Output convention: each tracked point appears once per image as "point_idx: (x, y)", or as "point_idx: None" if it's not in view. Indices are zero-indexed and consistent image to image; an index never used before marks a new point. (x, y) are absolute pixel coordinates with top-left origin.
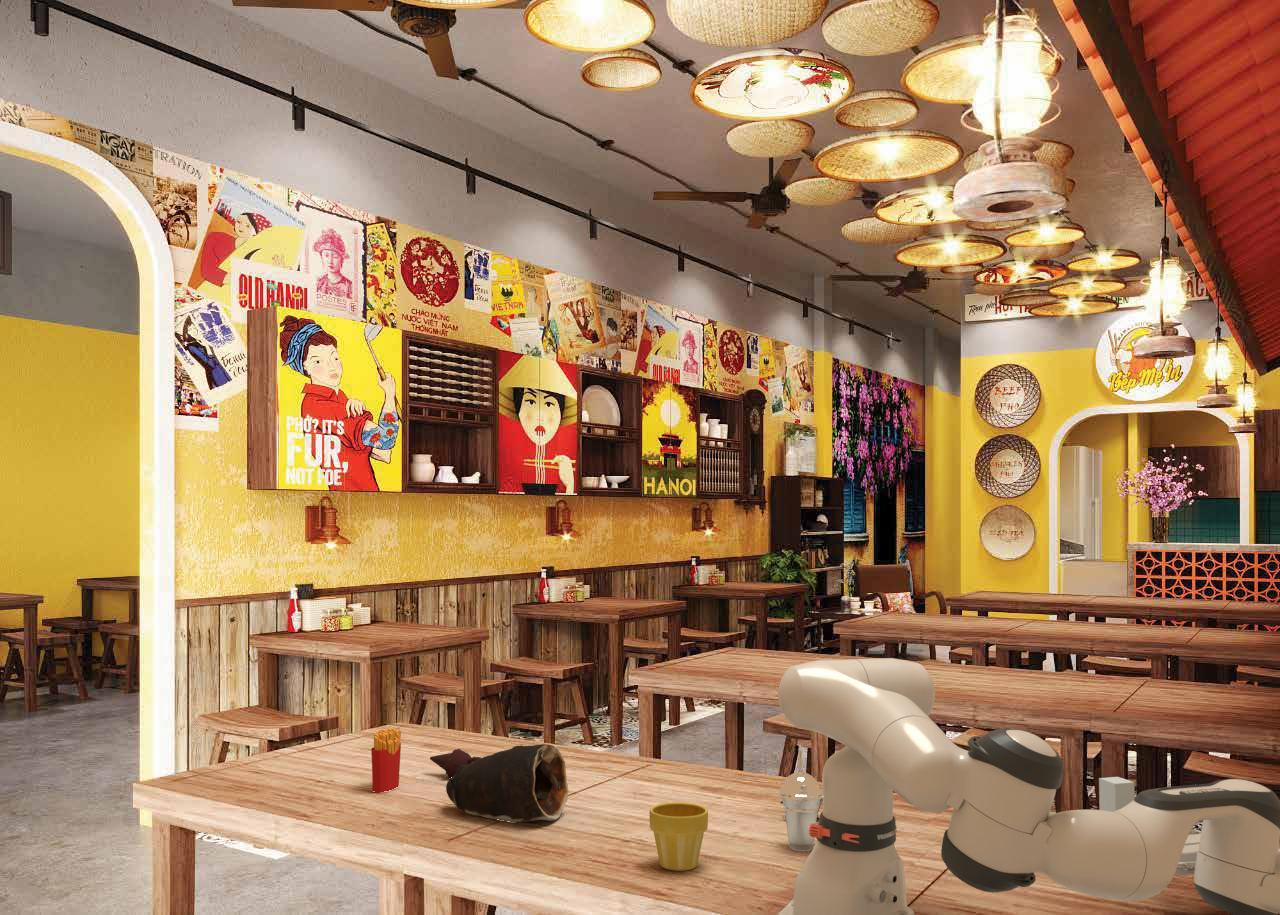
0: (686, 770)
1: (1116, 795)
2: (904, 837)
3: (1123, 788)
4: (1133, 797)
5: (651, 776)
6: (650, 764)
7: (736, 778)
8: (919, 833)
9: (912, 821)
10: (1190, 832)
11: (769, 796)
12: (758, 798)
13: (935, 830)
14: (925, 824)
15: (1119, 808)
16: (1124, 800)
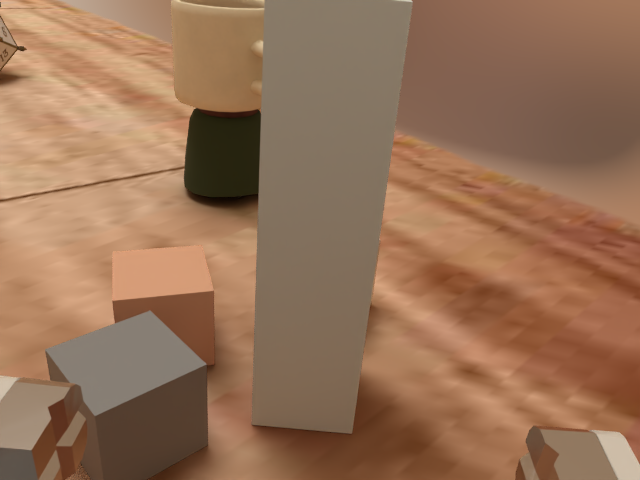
0: (68, 16)
1: (271, 65)
2: (32, 135)
3: (326, 30)
4: (392, 97)
5: (2, 14)
6: (51, 8)
7: (94, 30)
8: (88, 134)
9: (148, 113)
10: (548, 462)
11: (56, 49)
12: (31, 48)
13: (138, 135)
14: (155, 122)
15: (285, 142)
16: (325, 104)
